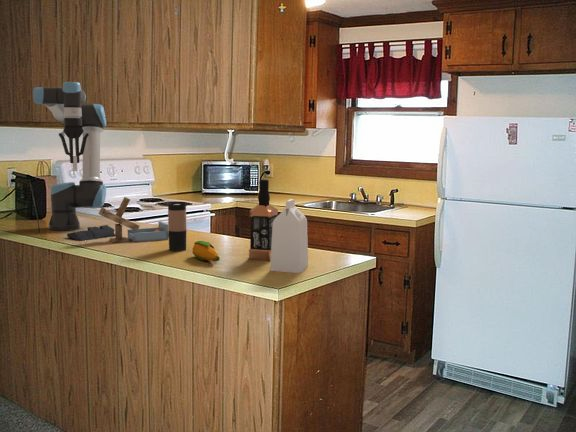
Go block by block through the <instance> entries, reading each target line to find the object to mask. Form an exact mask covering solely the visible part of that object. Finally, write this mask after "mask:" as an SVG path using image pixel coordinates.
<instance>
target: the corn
mask: <svg viewBox="0 0 576 432" xmlns="http://www.w3.org/2000/svg"><path fill="white" fill-rule="evenodd" d="M192 254H193V256H195V257H196V258H197V259H198V260H201V261H203V262H205V261H212V260H213V261H212V262H218V261H220V258H221V257H220V256H218V252H217V251H216V250H215V247H214V246H213V245H212V243H210V242H209V241H205V240H196V241H194V245H193V247H192Z"/></svg>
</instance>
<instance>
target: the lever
mask: <svg viewBox="0 0 576 432" xmlns="http://www.w3.org/2000/svg"><path fill="white" fill-rule="evenodd" d="M130 201H131V199H130V198H128V197H126V196H124V197H123V199H122V202H121V203H120V206H119V207H118V209H117V211H116V213H113V212H110V211H108V210H107V208H105V207H103V206H102V207H100V209H99V212H98V215H99V216H101V217H104V218H106V219H108V220H111V221H113V222H115V223H116V224H121V225H122V226H124V227H126V228H127V229H128V228H129V229H133V230H135V231H138V229H140V227H141V226H140V225H139V224H137V223H135V222H132V221H130V220H129V219H126V218H124V217H123V216H124V213H125V211H126V210H127V207H128V205H129V203H130Z"/></svg>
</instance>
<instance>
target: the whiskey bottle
mask: <svg viewBox="0 0 576 432" xmlns="http://www.w3.org/2000/svg"><path fill="white" fill-rule="evenodd" d="M269 181H270V180H269V179H266V178H265V179H264V178H263V179H259V187H258V188H259V191H258V192H259V193H258V196H257V199H258V204H257V205H256V206H254V207H253V208H251V209H250V210H249V216H250V239H249V240H250V242H249V243H250V245H249V246H250V247H249V249H248V259H249V260H252V261H253V260H256V261H270V262H271V244H272V226H273V221H274V219H275V218H276V217H277V216H278V215H279V214H278V211H279V209H278V208H277V207H274V206H273V205H272V204H270V199H271V197H270V191H269V188H270V187H269V184H270V182H269Z"/></svg>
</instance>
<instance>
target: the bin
mask: <svg viewBox="0 0 576 432" xmlns="http://www.w3.org/2000/svg"><path fill="white" fill-rule="evenodd" d="M157 229H159V230H160V231H157V232H154V231H155V230H157ZM127 239H128V240H130V241H132V242H134V243H142V242H154V241H166V240H168V241H169V233H168V224H167V223H165V222H164V221H161V220H159V221H158V227H157V226H156V227H147V228H139V229H138V231H135V230H133V229H131V228H129V229H127Z"/></svg>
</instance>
